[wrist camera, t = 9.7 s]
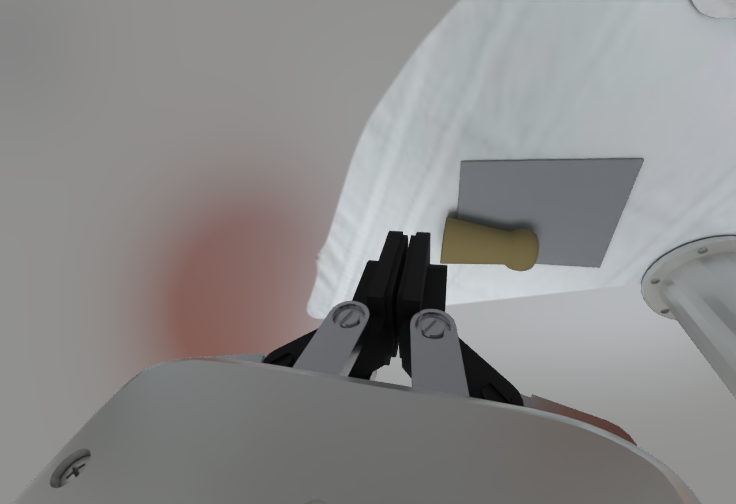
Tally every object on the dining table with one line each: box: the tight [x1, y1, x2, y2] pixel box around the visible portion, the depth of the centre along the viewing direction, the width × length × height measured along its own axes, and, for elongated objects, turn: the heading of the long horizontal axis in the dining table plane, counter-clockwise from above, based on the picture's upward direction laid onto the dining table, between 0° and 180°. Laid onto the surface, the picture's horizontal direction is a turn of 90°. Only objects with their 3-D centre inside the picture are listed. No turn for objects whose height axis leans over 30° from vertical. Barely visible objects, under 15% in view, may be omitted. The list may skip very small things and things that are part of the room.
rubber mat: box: [457, 158, 644, 268], centre depth 38 cm, size 18×14×1 cm
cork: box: [440, 217, 539, 271], centre depth 39 cm, size 6×6×11 cm
